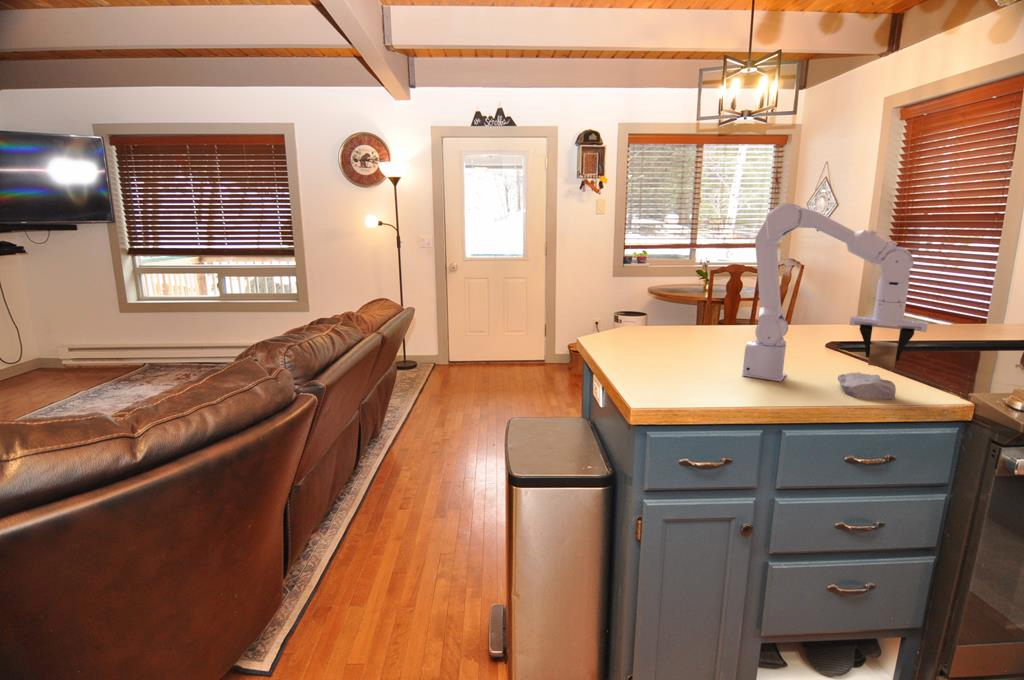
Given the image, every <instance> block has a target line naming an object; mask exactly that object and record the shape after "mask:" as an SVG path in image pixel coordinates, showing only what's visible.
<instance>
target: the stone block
mask: <svg viewBox="0 0 1024 680" xmlns="http://www.w3.org/2000/svg"><path fill="white" fill-rule="evenodd" d="M837 380H838V382H839V384H840V386H841V388H842V390H843V392H844V391H845V392H844V394H846V395H849V396H850V397H853V398H856V399H865V400H887V401H888V400H889V401H893V400H895V397H896V393H897V392H896V390H897V389H896V384H895V383H894V382H893V381H891V380H888V379H883V378H881V376H880V375H879V374H869V373H861V372H849V373H841V374H838V376H837Z"/></svg>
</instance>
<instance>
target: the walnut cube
mask: <svg viewBox="0 0 1024 680" xmlns="http://www.w3.org/2000/svg"><path fill="white" fill-rule="evenodd" d="M897 347H898V342H893V341H892V342H890V341H883V340H882V341H880V340H872V339H871V341H870V355H869V358H868V361H867V366H873V367H881V368H889V369H895V365H896V361H895V360H896V354H897Z"/></svg>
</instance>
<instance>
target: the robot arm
mask: <svg viewBox="0 0 1024 680" xmlns="http://www.w3.org/2000/svg"><path fill="white" fill-rule="evenodd" d="M798 228H799V229H807V228H808V229H815V230H818V231H820V232H822V233H824V234H826V235H828V236H830V237H832V238H834V239H837V240H838V241H840V242H842V243H844V244H846V247H847V251H848V252H849V253H851V254H852V255H855V256H856V257H858V258H860V259H862V260H864V261H866V262H868V263H870V264H872V265H880V267H881V272H880V273H881V274H880V279H879V280H878V283H877V291H876V296H875V301H874V302H875V303H874V309H873V316H854V315H853V316H851V315H850V320H849V326H859V332H860V335H861V337H862V339H863V344H864V351H865V358H868V359H869V355H870V347H871V340H872V333H873V327H874V328H884V329H886V328H887V329H896V330H899V336H898V342H897V354H896V360H895V362H896V361H897V362H899V360H900V358H901V355H902V353H903V351H904V349H905V348H906V346H907V344H908V343H909V341H910V340H911V339H912V338H913V336H914V335H915V332H923V333H927V329H928V322H925V321H917V320H909V319H904V316H905V311H906V304H907V300H908V299H907V298H908V292H909V286H910V281H909V279H910V278H911V277H910V276H911V273H910V270H911V269H912V268H913V266H914V258H913V255H912V253H911V252H910V251H909V250H908V249H906V248H905V247H903V246H897V245H898V242H896V241H894V240H893V241H892V242H891V241H889V240H887V239H885V238H883V237H881V236H880V235H877V231H875V230H874V229H871V230H867V229H861V230H858V231H855V230H853V229H851V228H849V227H847V226H845V225H844V224H841V223H839V222H838V221H836V220H835V219H832V218H830V217H828V216H827V215H824V214H823V213H822V212H819V211H816V210H813V209H810V208H807V207H802V206H800V205H799V204H795V203H789V202H785V203H784V202H783V203H780V204H779V205H777V206H775V207H774V208H772V210H771V211H769V213H768V214H767V215H766V217H765V220H764V222H763V223H762V225H761V227H760V229H759V230H758V232H757V234H756V237H755V240H754V241H755V244H754V245H755V256H756V267H757V268H756V270H757V283H758V284H757V285H758V294H759V295H758V297H759V312H758V318H757V319H758V322H757V325H756V328H755V332H754V333H755V337H756V338H755V340H754V341H751V340H748V341H746V345H745V347H744V355H743V356H744V357H743V367H742V373H741V375H742V377H751V378H754V379H755V378H756V379H763V380H769V381H776V382H782V381H783V379H785V377H786V375H787V373H786V372H784V365H785V356H786V347H787V342H786V340H785V339H784V336H785V335H786V334H788V330H789V323H788V321H787V320H786V319H785V316H784V309H783V306H782V302H781V301H782V300H781V286H780V283H781V282H780V273H779V272H780V270H779V258H778V257H779V256H778V244H779V243H780V242H781V240H783V238H785V236H786V235H787V234H788V233H791V232H792V231H794V230H795V229H798Z"/></svg>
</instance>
